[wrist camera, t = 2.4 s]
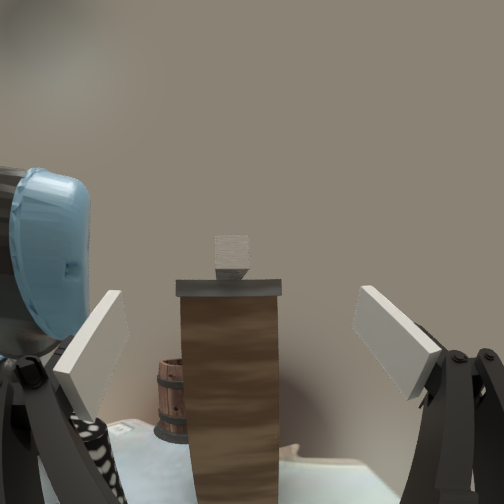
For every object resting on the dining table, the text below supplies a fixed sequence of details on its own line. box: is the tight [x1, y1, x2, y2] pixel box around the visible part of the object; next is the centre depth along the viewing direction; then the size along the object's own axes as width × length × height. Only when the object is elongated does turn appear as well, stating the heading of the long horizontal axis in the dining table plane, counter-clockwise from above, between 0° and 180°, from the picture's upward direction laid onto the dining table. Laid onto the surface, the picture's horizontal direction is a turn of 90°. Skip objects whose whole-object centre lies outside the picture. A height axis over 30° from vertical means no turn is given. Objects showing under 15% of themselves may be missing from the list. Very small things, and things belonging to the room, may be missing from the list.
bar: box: [215, 235, 250, 280], centre depth 40 cm, size 32×3×3 cm, turn 7°
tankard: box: [154, 359, 189, 444], centre depth 58 cm, size 24×17×20 cm
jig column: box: [176, 279, 282, 504], centre depth 36 cm, size 13×13×37 cm
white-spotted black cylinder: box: [71, 413, 128, 504], centre depth 17 cm, size 8×8×20 cm
